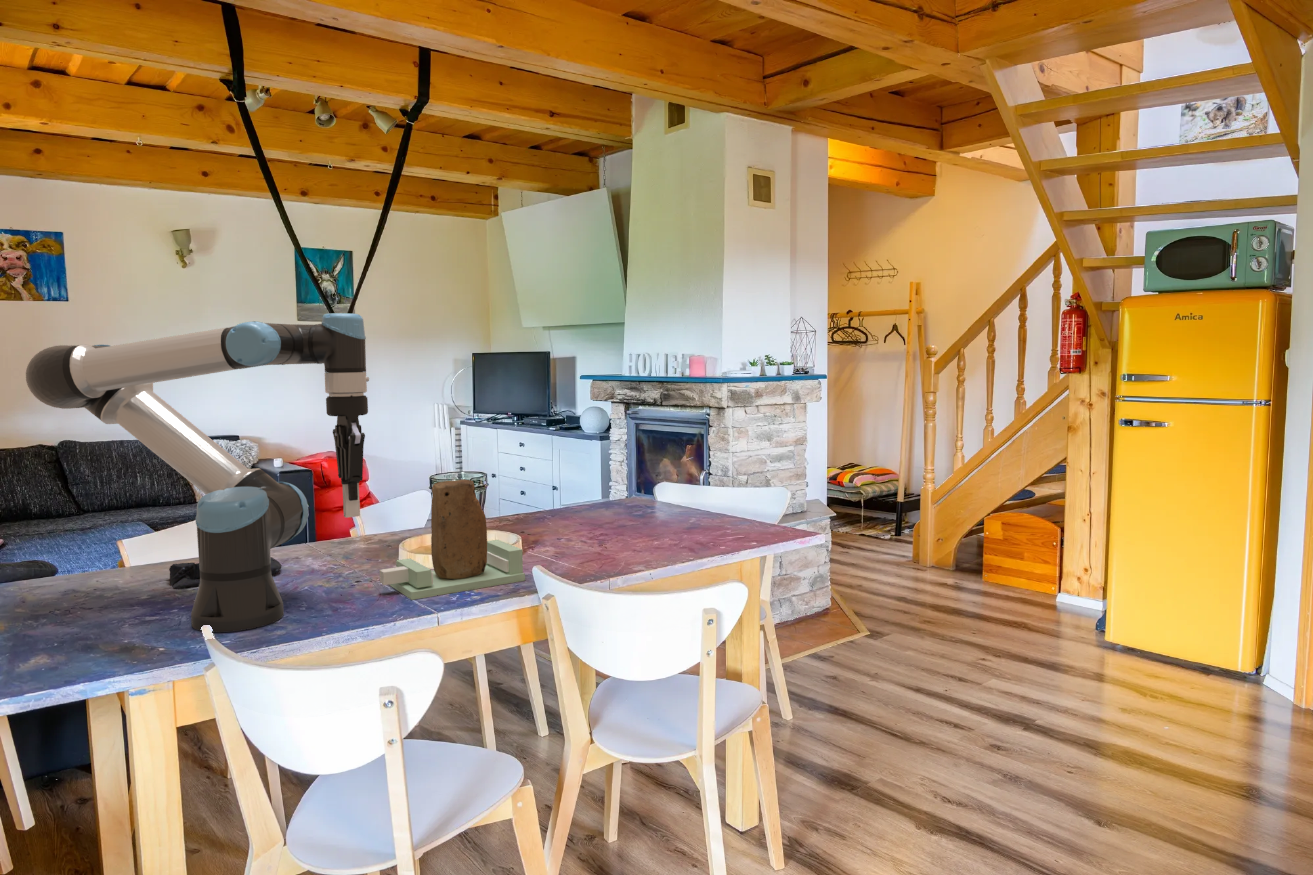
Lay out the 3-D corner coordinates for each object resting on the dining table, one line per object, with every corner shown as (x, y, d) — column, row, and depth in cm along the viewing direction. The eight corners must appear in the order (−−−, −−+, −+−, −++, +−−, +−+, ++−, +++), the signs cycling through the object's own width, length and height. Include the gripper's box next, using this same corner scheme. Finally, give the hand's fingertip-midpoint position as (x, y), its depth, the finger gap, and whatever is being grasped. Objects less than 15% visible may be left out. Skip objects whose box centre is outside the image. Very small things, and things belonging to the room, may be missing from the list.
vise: (411, 599, 172) (410, 567, 171) (388, 584, 183) (387, 553, 183) (525, 580, 186) (524, 550, 185) (496, 567, 197) (496, 538, 197)
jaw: (391, 592, 171) (391, 575, 170) (372, 579, 180) (372, 563, 180) (434, 585, 176) (433, 569, 175) (413, 572, 185) (412, 557, 185)
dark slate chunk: (283, 580, 189) (282, 558, 189) (167, 592, 180) (165, 570, 179) (280, 564, 203) (279, 544, 202) (171, 575, 193) (170, 554, 193)
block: (438, 582, 179) (436, 485, 177) (430, 574, 186) (427, 480, 184) (490, 575, 184) (488, 481, 182) (480, 568, 191) (478, 476, 189)
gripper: (377, 395, 165) (382, 519, 168) (356, 392, 176) (361, 509, 178) (336, 396, 161) (341, 523, 163) (317, 394, 172) (323, 513, 174)
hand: (352, 516), depth 171 cm, fingers closed
